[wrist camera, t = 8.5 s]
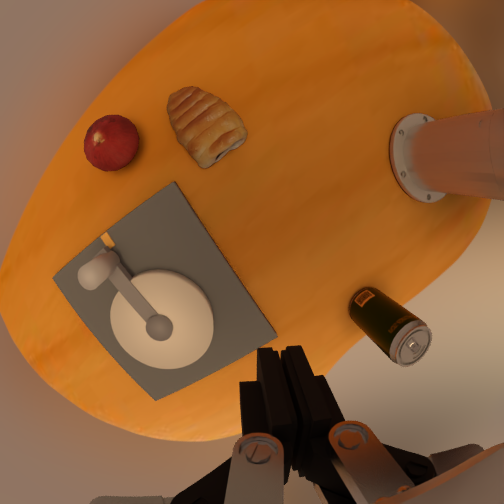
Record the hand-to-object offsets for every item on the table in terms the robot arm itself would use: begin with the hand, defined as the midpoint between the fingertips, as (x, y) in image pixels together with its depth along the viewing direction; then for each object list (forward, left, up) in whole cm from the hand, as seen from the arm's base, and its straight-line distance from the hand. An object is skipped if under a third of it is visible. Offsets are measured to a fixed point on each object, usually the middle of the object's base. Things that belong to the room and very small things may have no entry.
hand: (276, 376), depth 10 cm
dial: (+12, 0, -21) cm, 24 cm away
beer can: (-10, +16, -23) cm, 30 cm away
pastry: (-4, -13, -23) cm, 27 cm away
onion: (+5, -17, -23) cm, 29 cm away
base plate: (+12, +1, -23) cm, 25 cm away
